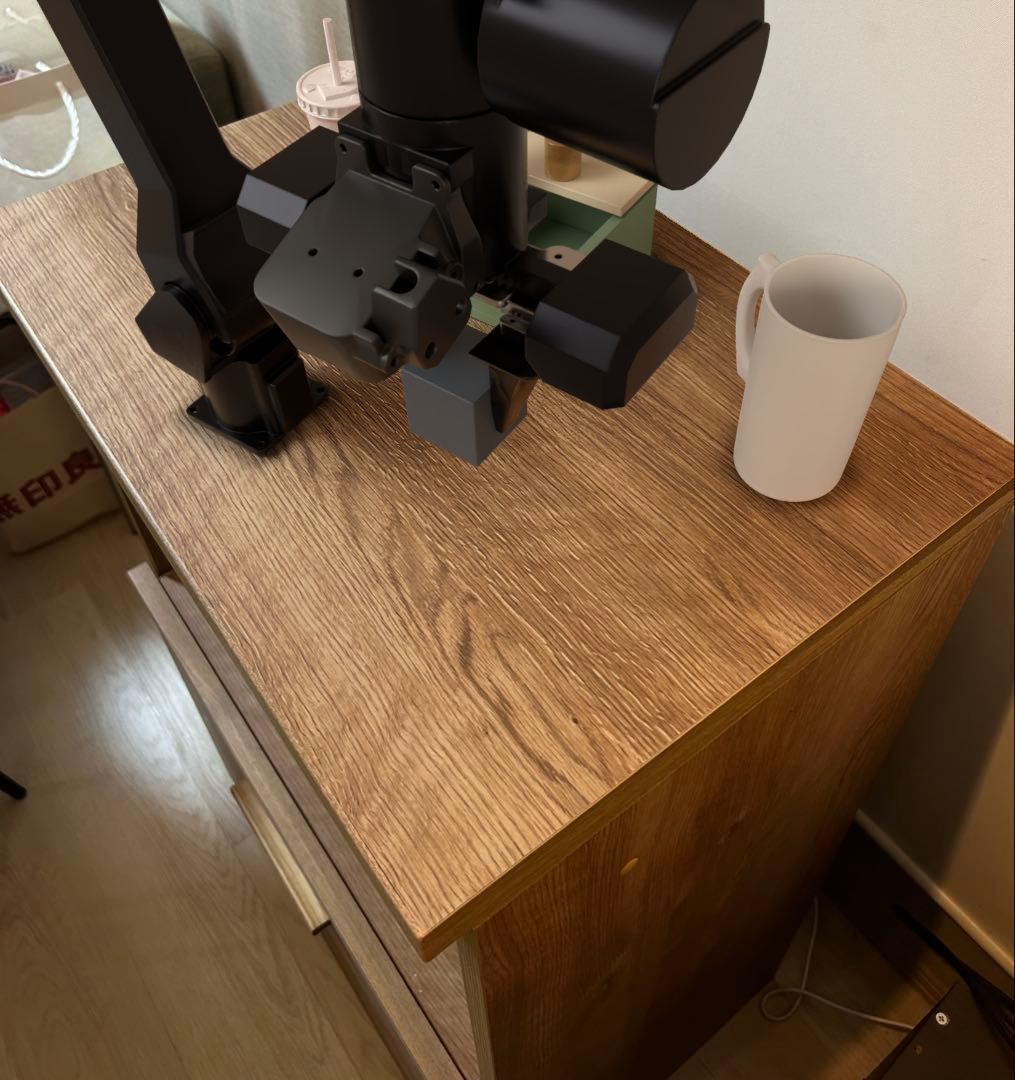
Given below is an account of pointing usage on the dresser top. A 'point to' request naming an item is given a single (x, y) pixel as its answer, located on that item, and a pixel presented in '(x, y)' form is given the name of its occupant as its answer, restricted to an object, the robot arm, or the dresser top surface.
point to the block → (455, 402)
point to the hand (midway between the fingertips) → (467, 407)
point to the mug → (809, 367)
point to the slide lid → (581, 176)
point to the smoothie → (328, 88)
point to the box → (584, 233)
